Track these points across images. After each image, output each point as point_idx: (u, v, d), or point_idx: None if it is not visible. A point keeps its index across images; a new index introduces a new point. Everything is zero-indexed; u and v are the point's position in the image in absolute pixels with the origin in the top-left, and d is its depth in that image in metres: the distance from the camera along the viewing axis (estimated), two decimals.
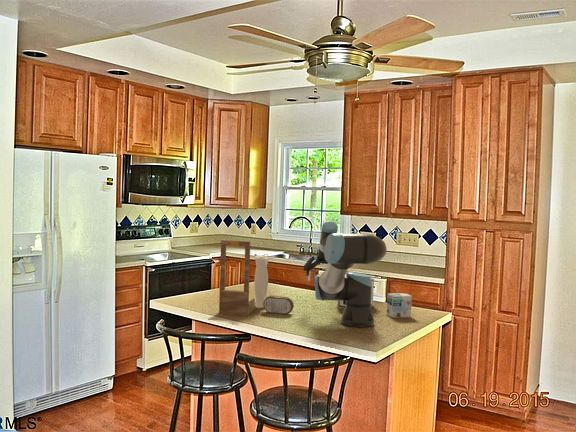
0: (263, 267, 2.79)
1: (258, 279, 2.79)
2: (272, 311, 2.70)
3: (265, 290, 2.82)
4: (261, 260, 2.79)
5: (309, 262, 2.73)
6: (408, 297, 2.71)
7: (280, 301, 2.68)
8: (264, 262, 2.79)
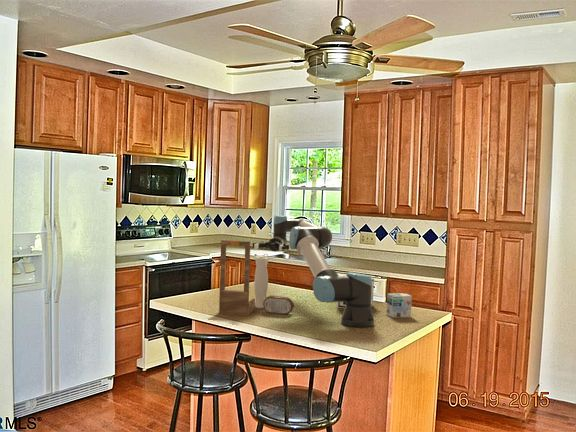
0: (263, 267, 2.79)
1: (258, 279, 2.79)
2: (272, 311, 2.70)
3: (265, 290, 2.82)
4: (261, 260, 2.79)
5: None
6: (408, 297, 2.71)
7: (280, 301, 2.68)
8: (264, 262, 2.79)
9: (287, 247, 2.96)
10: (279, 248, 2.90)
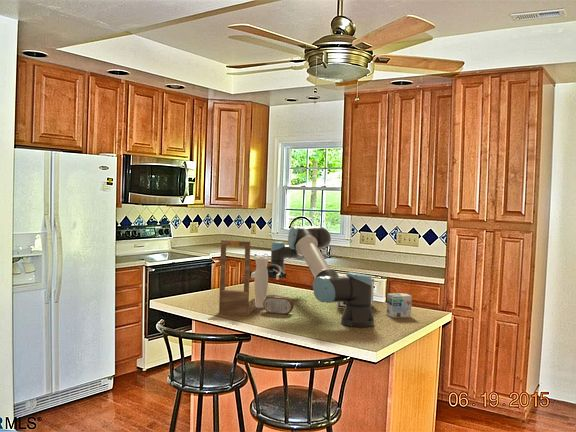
0: (263, 267, 2.79)
1: (258, 279, 2.79)
2: (272, 311, 2.70)
3: (265, 290, 2.82)
4: (261, 260, 2.79)
5: None
6: (408, 297, 2.71)
7: (280, 301, 2.68)
8: (264, 262, 2.79)
9: (284, 275, 2.94)
10: (276, 277, 2.88)
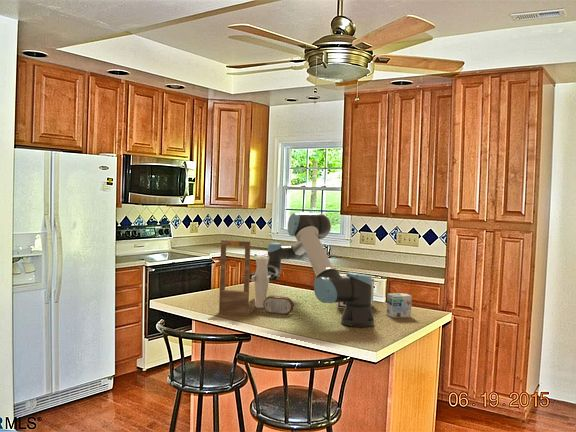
0: (263, 267, 2.79)
1: (258, 279, 2.79)
2: (272, 311, 2.70)
3: (265, 290, 2.82)
4: (261, 260, 2.79)
5: None
6: (408, 297, 2.71)
7: (280, 301, 2.68)
8: (264, 262, 2.78)
9: (274, 278, 2.83)
10: (266, 280, 2.76)
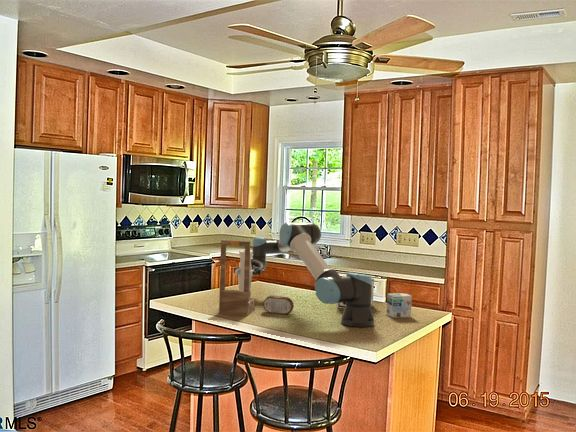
0: None
1: (242, 273, 2.81)
2: (272, 311, 2.70)
3: (249, 284, 2.83)
4: None
5: None
6: (408, 297, 2.71)
7: (280, 301, 2.68)
8: None
9: (258, 272, 2.85)
10: (249, 273, 2.78)
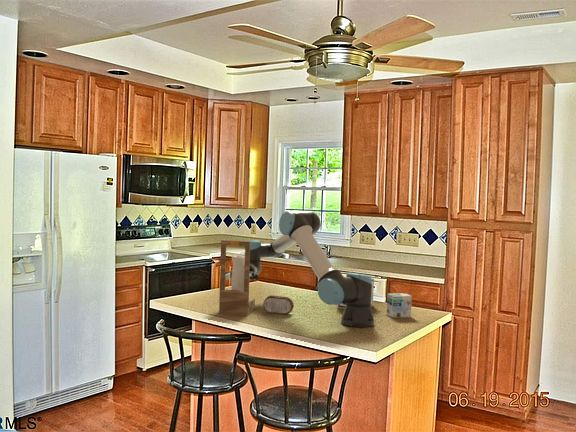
0: (239, 266, 2.68)
1: (235, 279, 2.69)
2: (272, 311, 2.70)
3: (242, 290, 2.71)
4: (238, 259, 2.68)
5: (230, 271, 2.81)
6: (408, 297, 2.71)
7: (280, 301, 2.68)
8: (241, 261, 2.68)
9: (256, 277, 2.73)
10: None
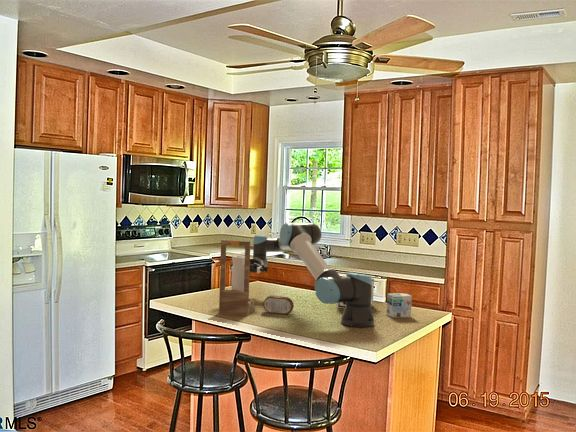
0: (240, 266, 2.68)
1: (235, 279, 2.69)
2: (272, 311, 2.70)
3: (242, 290, 2.71)
4: (238, 259, 2.68)
5: None
6: (408, 297, 2.71)
7: (280, 301, 2.68)
8: (241, 261, 2.68)
9: (266, 269, 2.86)
10: (257, 270, 2.80)
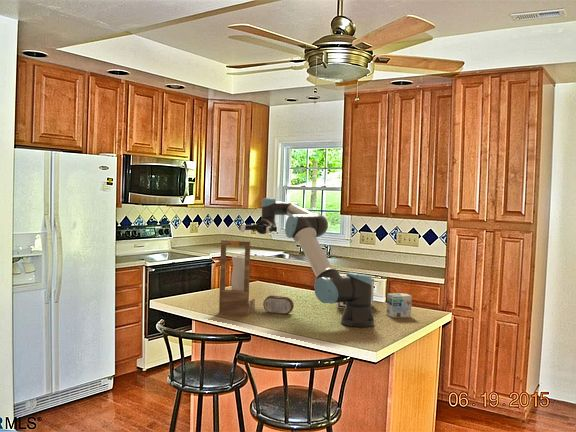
0: (240, 266, 2.68)
1: (235, 279, 2.69)
2: (272, 311, 2.70)
3: (242, 290, 2.71)
4: (238, 259, 2.68)
5: None
6: (408, 297, 2.71)
7: (280, 301, 2.68)
8: (241, 261, 2.68)
9: (275, 229, 2.86)
10: (266, 229, 2.79)
